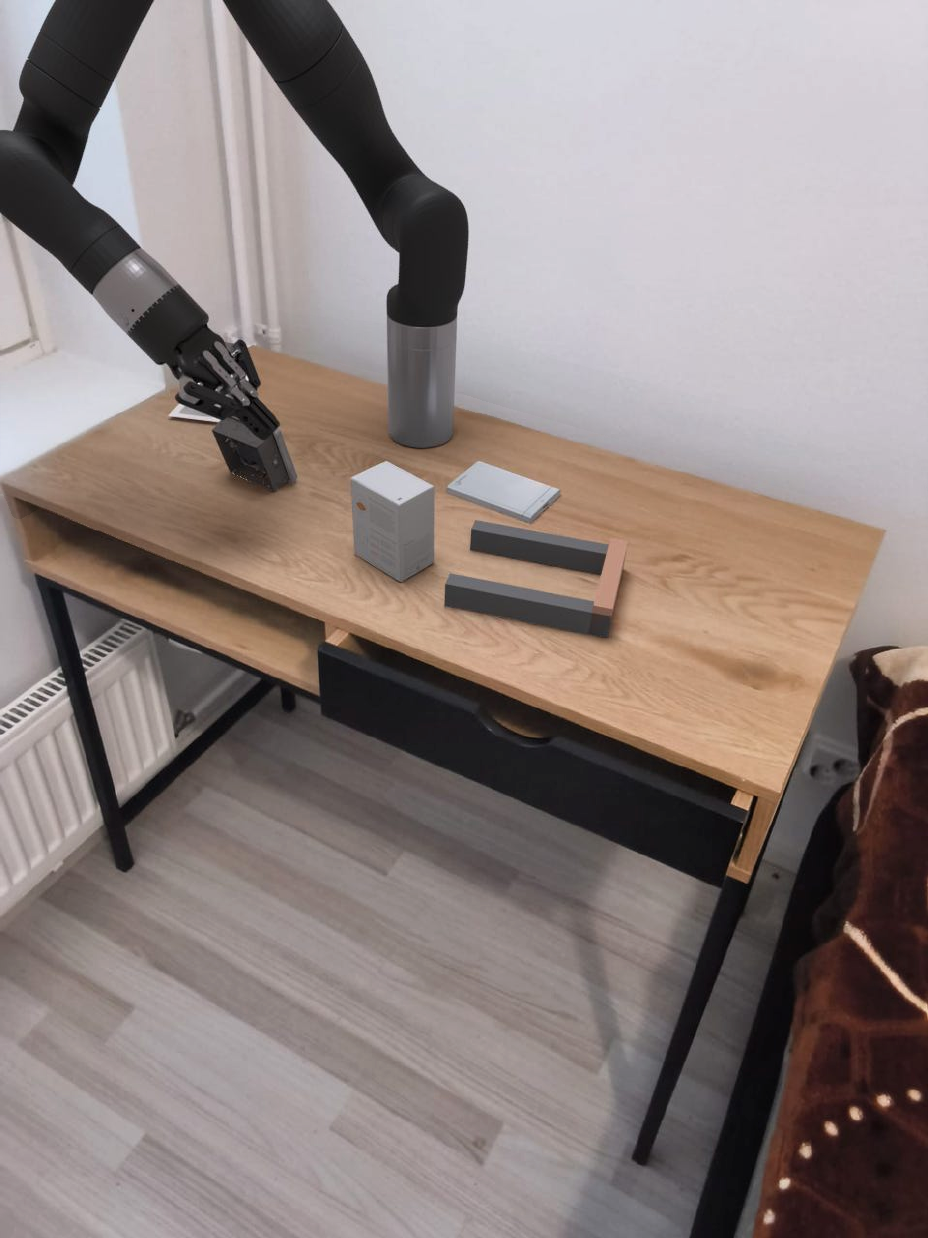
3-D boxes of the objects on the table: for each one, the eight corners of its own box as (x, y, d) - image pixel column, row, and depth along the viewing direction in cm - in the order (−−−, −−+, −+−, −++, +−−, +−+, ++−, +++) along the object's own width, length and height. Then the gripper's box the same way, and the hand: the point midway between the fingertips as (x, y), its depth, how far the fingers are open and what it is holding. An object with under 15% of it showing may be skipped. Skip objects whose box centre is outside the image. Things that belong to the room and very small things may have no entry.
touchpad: (257, 383, 141) (256, 370, 140) (221, 429, 130) (219, 415, 128) (209, 377, 142) (207, 364, 141) (169, 422, 131) (166, 408, 129)
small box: (435, 564, 106) (437, 486, 100) (400, 584, 103) (399, 505, 96) (387, 535, 110) (386, 458, 104) (352, 554, 107) (349, 476, 101)
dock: (474, 540, 110) (475, 512, 108) (623, 568, 107) (628, 540, 105) (444, 605, 101) (445, 576, 98) (607, 638, 97) (612, 609, 95)
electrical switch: (299, 482, 119) (289, 420, 113) (273, 502, 116) (260, 440, 109) (246, 460, 123) (232, 399, 116) (218, 479, 120) (203, 418, 113)
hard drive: (446, 485, 118) (530, 516, 113) (479, 459, 123) (561, 487, 118) (445, 496, 119) (529, 527, 114) (478, 470, 124) (560, 498, 119)
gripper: (135, 308, 88) (266, 443, 93) (201, 263, 98) (316, 388, 103) (97, 353, 92) (225, 480, 98) (164, 306, 102) (277, 423, 108)
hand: (272, 432), depth 100 cm, fingers closed
